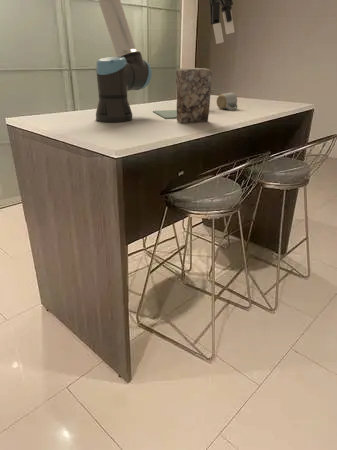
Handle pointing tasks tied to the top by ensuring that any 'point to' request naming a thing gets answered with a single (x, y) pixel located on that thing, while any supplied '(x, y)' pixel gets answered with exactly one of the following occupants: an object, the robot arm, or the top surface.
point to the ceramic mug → (227, 101)
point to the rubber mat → (167, 114)
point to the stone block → (193, 94)
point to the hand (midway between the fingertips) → (225, 38)
